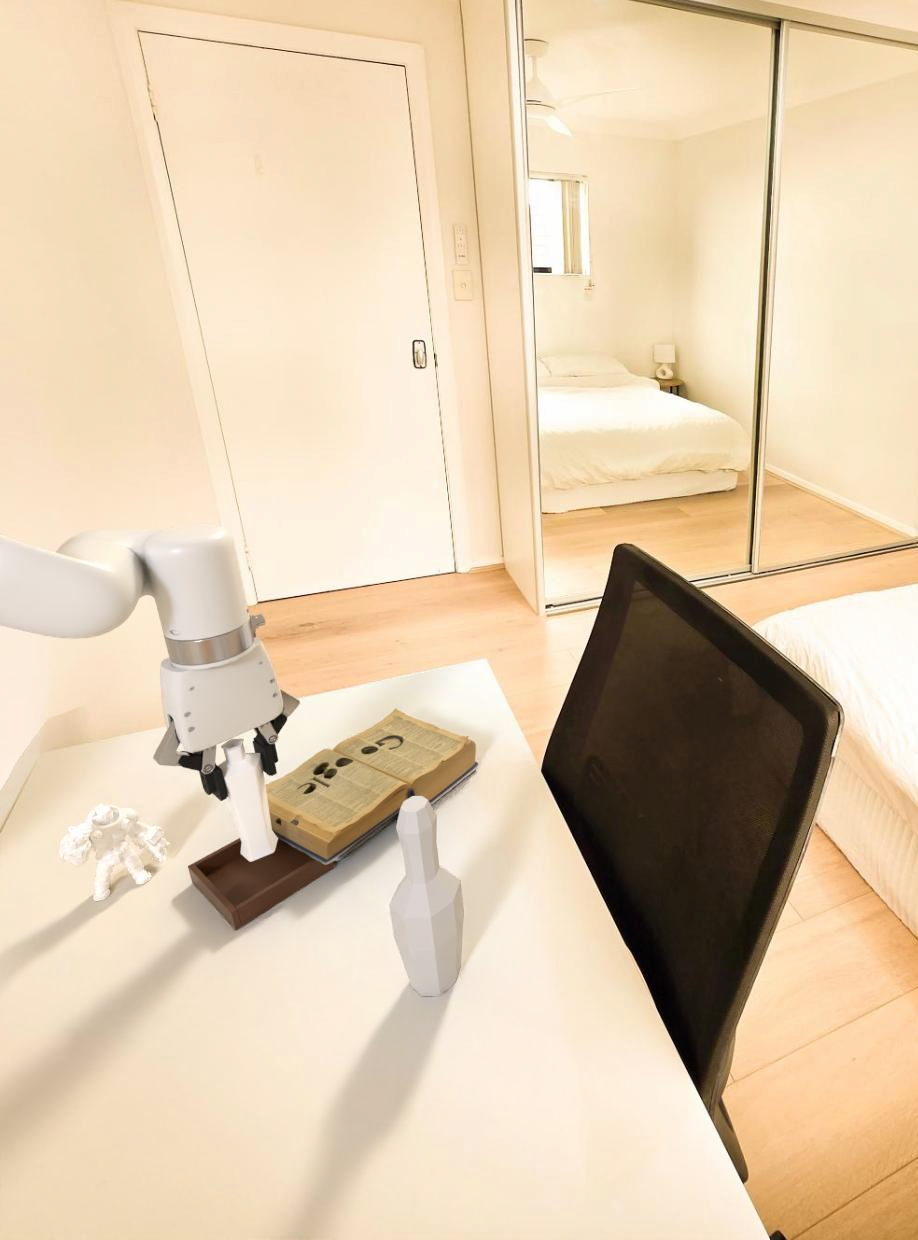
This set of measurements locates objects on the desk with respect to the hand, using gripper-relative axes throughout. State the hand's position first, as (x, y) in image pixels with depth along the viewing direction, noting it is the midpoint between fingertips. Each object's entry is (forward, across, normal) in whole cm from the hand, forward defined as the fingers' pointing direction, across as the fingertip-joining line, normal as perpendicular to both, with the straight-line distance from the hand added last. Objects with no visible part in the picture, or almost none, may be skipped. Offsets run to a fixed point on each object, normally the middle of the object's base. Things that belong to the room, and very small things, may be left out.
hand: (243, 781), depth 79 cm
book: (+14, -15, -2) cm, 20 cm away
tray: (+14, 0, 0) cm, 14 cm away
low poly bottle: (+14, -4, +28) cm, 32 cm away
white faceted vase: (+10, 0, 0) cm, 10 cm away
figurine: (+14, +10, -11) cm, 20 cm away
